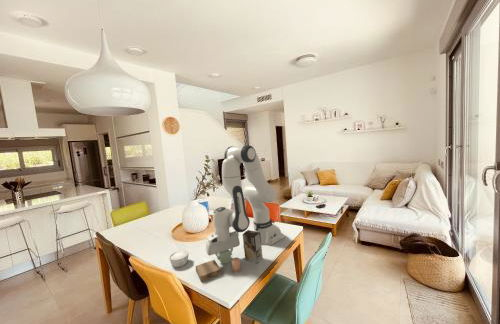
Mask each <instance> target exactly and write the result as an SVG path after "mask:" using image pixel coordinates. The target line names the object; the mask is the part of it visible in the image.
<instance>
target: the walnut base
mask: <svg viewBox="0 0 500 324" xmlns="http://www.w3.org/2000/svg"><path fill="white" fill-rule="evenodd" d="M221 270H222V269H221V267H220V266H219V264H218V263H217V262H216V260H215V259H212V260H209V261H206V262H203V263H199V264H198V265H195V272H196V274H197V277H198V278H199V280H200V283H202V282H206V281H207V280H209V279H212V278H215V277H218V276H220V275H222V271H221Z"/></svg>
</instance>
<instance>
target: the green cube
mask: <svg viewBox="0 0 500 324" xmlns="http://www.w3.org/2000/svg"><path fill="white" fill-rule="evenodd" d="M218 255H219V256H220V259H219V260H218V261H219V263H221V265H224V264H226V263H230V262H232V261H231V260H232V255H231V252H230V249H228V250H225V251H222V252H219V253H218Z"/></svg>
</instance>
